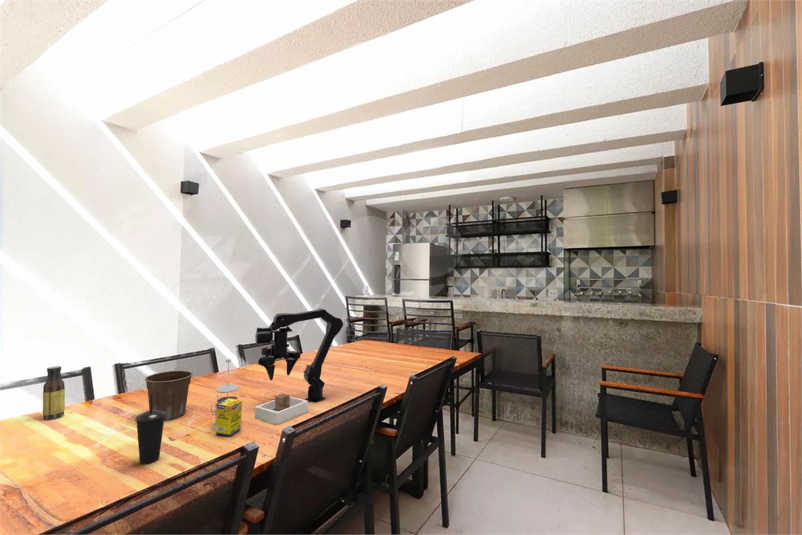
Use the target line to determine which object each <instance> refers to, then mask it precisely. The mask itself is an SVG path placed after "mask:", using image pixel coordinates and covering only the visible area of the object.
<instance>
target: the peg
mask: <svg viewBox="0 0 802 535" xmlns="http://www.w3.org/2000/svg"><path fill="white" fill-rule="evenodd" d="M274 397H275V398H274V400H275V410H276V411H282V410H284V409H287V408H289V407H290V397H291V395H290V394H287V393H281V394H278V395H275V396H274Z"/></svg>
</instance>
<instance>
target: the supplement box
mask: <svg viewBox="0 0 802 535" xmlns="http://www.w3.org/2000/svg"><path fill="white" fill-rule="evenodd" d="M242 403H243V400H241V399H237V400H236V399H230V398H228V399H227V400H225V401H223V402H221V403H219V404H217V403H216V404H217V425H216V430H215V434H216V435H217V436H218V435H219V436H223V437H224V436H225V437H231V436H233V435H235V434H236V433H237V432H238V431H241V428H242V427H241V425H242V409H243V408H242V407H243V404H242Z"/></svg>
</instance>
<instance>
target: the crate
mask: <svg viewBox="0 0 802 535" xmlns="http://www.w3.org/2000/svg"><path fill="white" fill-rule="evenodd" d="M290 402H293V403H296V404H297V405H294V406H292V407H289V408H287V409H284V410H282V411H279V412H275V411H272V410H268V409H266V408H268V407H271V406H274V405H275V399H273V400H270V401H267V402H265V403H262V404H258V405H256V406H254V419H256V420H260V421H263V422H266V423H269V424H272V425H275V426H278V425H281V424H282V423H283V424H284V423H285V422H288V421H290V420H292V419H295V418H297V417H300V416H302V415H304V414H307V413H308V412H309V401H308V400H306V399H301V398H298V397H293V396H290Z"/></svg>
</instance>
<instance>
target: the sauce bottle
mask: <svg viewBox="0 0 802 535" xmlns="http://www.w3.org/2000/svg"><path fill="white" fill-rule="evenodd" d="M61 371H62V366H61V365H56V366H50V367H49V366H48V367H47V368H46V373H47V377H46V378H47V379H46V381H45V383H44V385H43V392H42V415H43V417H42V418H43V420H44V421H51V420H57V419H60V418H61V417H63V416H64V415H65V408H66V401H65V400H66V397H65V396H66V390H65V382H64V380H63V379H62V376H61V373H62V372H61Z"/></svg>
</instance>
